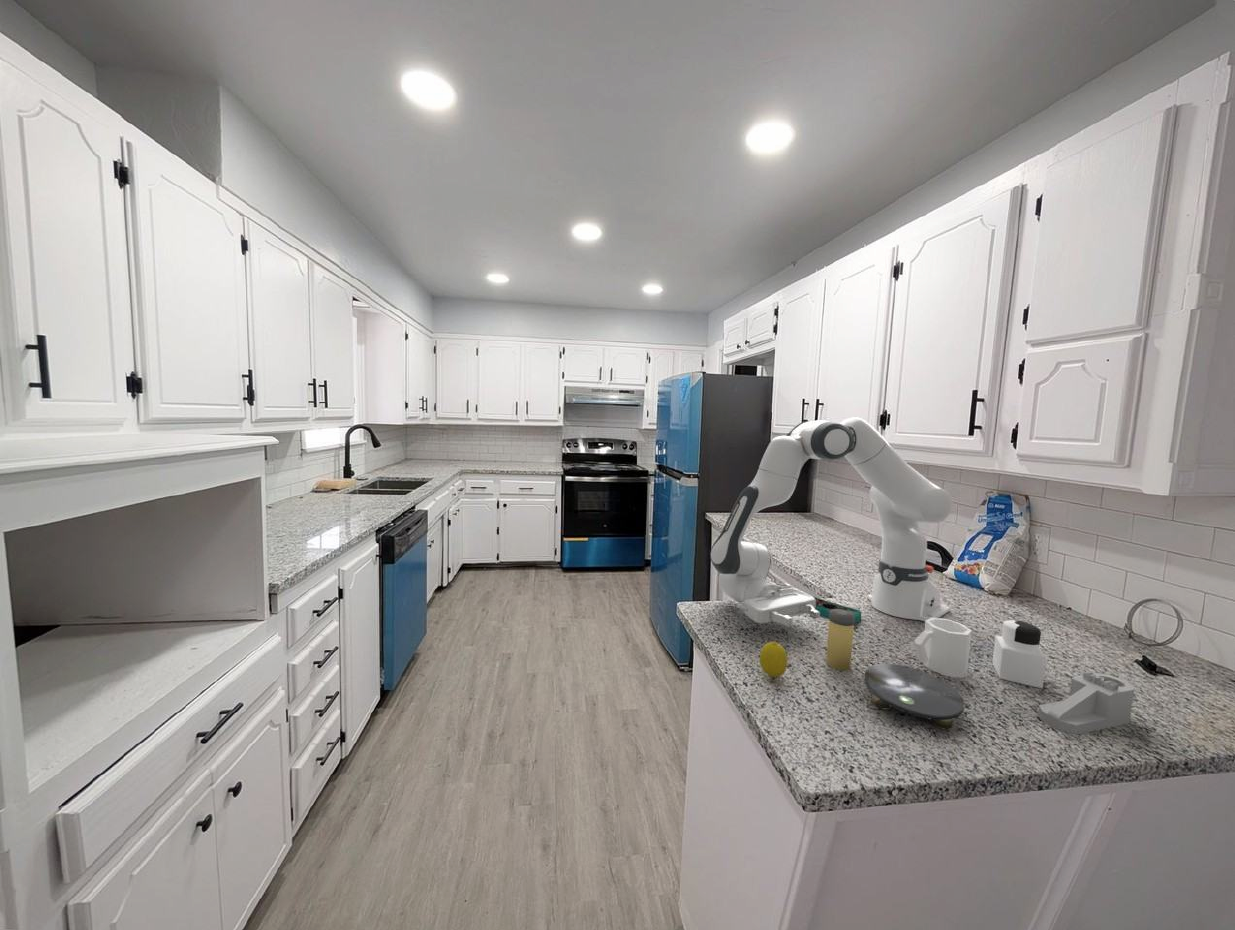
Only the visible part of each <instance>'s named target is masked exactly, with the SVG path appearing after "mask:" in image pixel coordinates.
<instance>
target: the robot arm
mask: <svg viewBox="0 0 1235 930" xmlns="http://www.w3.org/2000/svg"><path fill="white" fill-rule="evenodd" d="M764 451H765V452H764V454H763V456H762V457H761V461H760V464H759V466H758V470H757V471H756V474H755V476H754V478H753V480H752V481H751V483H750V484H748V485H747V486H746V487H744V488H743V489H742V491H741V492H740V493H739V495H738V497H737V499H736V501H735V503H734V505H733V507H732V509H731V510H730V511H731V512H730V513H729V516H728V517H727V519H726V522H725V524H724V526H723V528H722V529H721V530H722V531H721V532H720V534H719V535H718V537H717V538H716V540H715V541H714V543H713V545H712V546H711V549H710V551H709V552H710V553H709V555H710V557H709V558H710V561H711V563H712V566H713V567H714V569H715V570H716V571H717V572H718V573H719V576H718V584H719V585H718V586H719V587H720V588H721V590H722V592H723V593H724V594H725V595H726V596H728V597H729V598H730V599H732V600H734V601H735V602H737V603H738V604H737V608H738V609H740V610H742V611H743V613H744V614H745V616H746V617H748V618H749V619H751V620H752V621H753V622H754V623H758V624H763V625H764V624H766V623H771V622H775V623H778V624H783V625H785V626H787V627H788V626H791V625H793V617H796V616H801V615H806V614H807V615H808V614H809V617H810V618H811V619H813V620H816V619H820V618H821V617H820V616H821V615H820V612H819V611H817V610H815V607H816V600H815V598H814V597H815V596H813V595H811V594H809V593H806V591H805V592H804V591H802V590H800V589H798V588H795V587H792V585H791V584H789V583H786V582H772V581H766V580H767V578H768V575H769V572H770V569H771V564H772V556H771V553H770V550H769V549H768V548H767V546H765V545H764V544H763V543H758V542H752V541H743V537H744V535H745V533H746V531H747V529H748V527H749V525H750V523H751V520H752V518H753V517H754V516H755V515H756V514H757V513H758V512H760V511H761V510H764V509H766V508H771V507H774V506H778V505H781V504H784V503H785V502H787V501H788V500H789V499H791V496H792V495H793V493H795V492H794V491H795V490H796V487H797V483H798V480H799V477H800V474H801V471H802V468H803V466H804V464H805V463H806V462H807V461H808V460H809V459H810V460H811V459H813V460H823V461H829V462H830V461H837V460H839V459H841V458H843V457H844V458H845V459H846V460H847V462H848V463H849V464H850V465H851V466H852V468H854V470H856V473H858V474H859V476H861V478H862V479H863V480H864V481H865V482H866V483H867V484H868V485H870V486H871V487H870V489H869V499H870V501H871V503H872V504H873V506H874V508H875V509H876V511H877V514H878V519H879V523H880V529H881V555H880V556H881V557H880V559H879V561H878V563H877V567H878V568H877V571H878V572H877V573H875V576H874V579H873V584H872V590H871V594H868V595H867V599H868V600H869V601H870V605H871V607H872V608H874V609H876V610H877V611H879V612H881V613H885V614H886V615H889V616H893V617H898V618H900V619H901V618H902V619H908V620H918V621H922V622H925V621H926V620H928V619H930V618H941V617H943V616H944V615H946V614H947V613H949V612H950V607H949V606H947V605H946V604H944V603H942V602H941V590H940V589H939V588H938V587H937V586H936V585H935V584H934V583H933V582H932V581H931V580H930V579H929V574H933V572H934V567H933V566H931V565H928V564H926V562H927V559H926V558H927V551H928V550H927V548H928V541H927V537H926V536H925V535H924V533H922V531H921V529H920V526H919V523H927V524H930V523H931V524H933V523H934V524H936V523H941V522H944V521H945V520H947V518H949V516H951V513H952V511H953V509H954V501H953V498H952V496H951V494H950V493H949V492H948V491H947V490H945V489H944V488H941V487H940V486H938V485H936V483H935V484H934V483H933V482H932V481H930V480H929V479H927V477H925V476H924V475H923V474H921V472H919V471H917V470H916V469H915V468H913V466H911V465H910V464H908V463H907V462H906V461H905V460H904V459H903V458H902V457H901V456H900V455H899V454H898V453H897V452H896V450H895V449H894V448H893V447H892V445H890V444H889V443H888V442H887V440H886V439H885V437H883V435H882V434H881V433H880V432H879V431H878V430H876V429H875V427H873V426H872V425H871V424H869V423H868V422H867V421H866V420H864V419H862V418H860V417H856V416H855V417H850V418H846V419H844V420H842V421H841V422H838V421H834V420H833V421H830V420H829V421H828V420H821V419H820V420H819V419H817V420H811V421H810V420H807V421H802V422H799V423H798V424H796V425H795V426H793V428H791V429H790V431H789V432H788V433H787V434H786V435H780V436H776V437H774V438H772V439H771V441H770V442H769V444H768V445H767V448H766V450H764Z"/></svg>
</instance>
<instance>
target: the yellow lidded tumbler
mask: <svg viewBox="0 0 1235 930" xmlns="http://www.w3.org/2000/svg"><path fill="white" fill-rule="evenodd" d="M855 624H856V623H855V615H854V614H853V613H851V612H849V611H846V610H841V609H831V610H830V611H829V618H828V629H827V630H828V631H827V642H826V643H827V644H826V660H825V663H826V665H828V666H829V667H830V668H831V669H833V670H834V669H835V670H837V671H849V670H851V668H852V667H851V666H852V653H853V643H854V642H853V641H854V628H855Z"/></svg>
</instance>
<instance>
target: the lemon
mask: <svg viewBox="0 0 1235 930" xmlns="http://www.w3.org/2000/svg"><path fill="white" fill-rule="evenodd" d="M759 664H760V667H761V669H762V671H763V672H764V674H766V675H767V676H769V677H770V678H772V679H775V678H777V677H781V676H782V675H783V674H784V673H785V672H786V670H787V667H788V656H787V651H786V650H785V648H784V647H783V646H782V645H781V644H779V643H778V642H776V641H770V642H767V643H766V644H764V645H763V646H762V648H761V651H760V654H759Z"/></svg>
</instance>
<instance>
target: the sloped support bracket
mask: <svg viewBox="0 0 1235 930" xmlns="http://www.w3.org/2000/svg"><path fill="white" fill-rule="evenodd" d="M1134 694H1135V686H1133V685H1132V684H1131V683H1129V682H1128V681H1126V680H1124V679H1121V678H1118V677H1116V676H1113V675H1110V674H1106V673H1100V672H1091V671H1086V672H1083V674H1078V675H1075V676H1073V677H1072V678H1071V680H1070V688H1069V697H1067V698H1065V699H1064V700H1060V701H1055V702H1050V703H1049V702H1048V703H1044V704H1043V703H1042V704H1039V705H1038V709H1037V710H1038V711H1037V715H1038V717H1039V719H1040V721H1042V722H1043V723H1046V724H1047V725H1048V726H1051V727H1053V728H1054V729H1056V730H1057V731H1060V732H1064V733H1067V734H1071V735H1081V734H1085V733H1089V732H1095V731H1099V730H1104V729H1109V728H1113V727H1117V726H1123V725H1127V724H1129V723H1130V722H1131V714H1132V708H1133V700H1134Z"/></svg>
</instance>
